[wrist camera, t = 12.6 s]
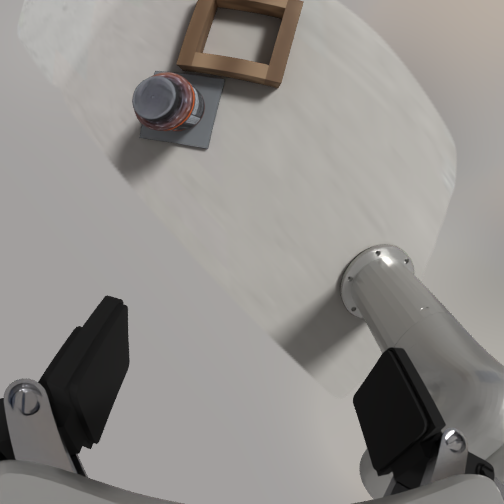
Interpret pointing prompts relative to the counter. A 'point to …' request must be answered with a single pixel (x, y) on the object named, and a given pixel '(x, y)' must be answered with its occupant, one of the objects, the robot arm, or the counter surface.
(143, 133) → the slate coaster
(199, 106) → the supplement bottle
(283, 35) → the pocket frame
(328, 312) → the counter surface
